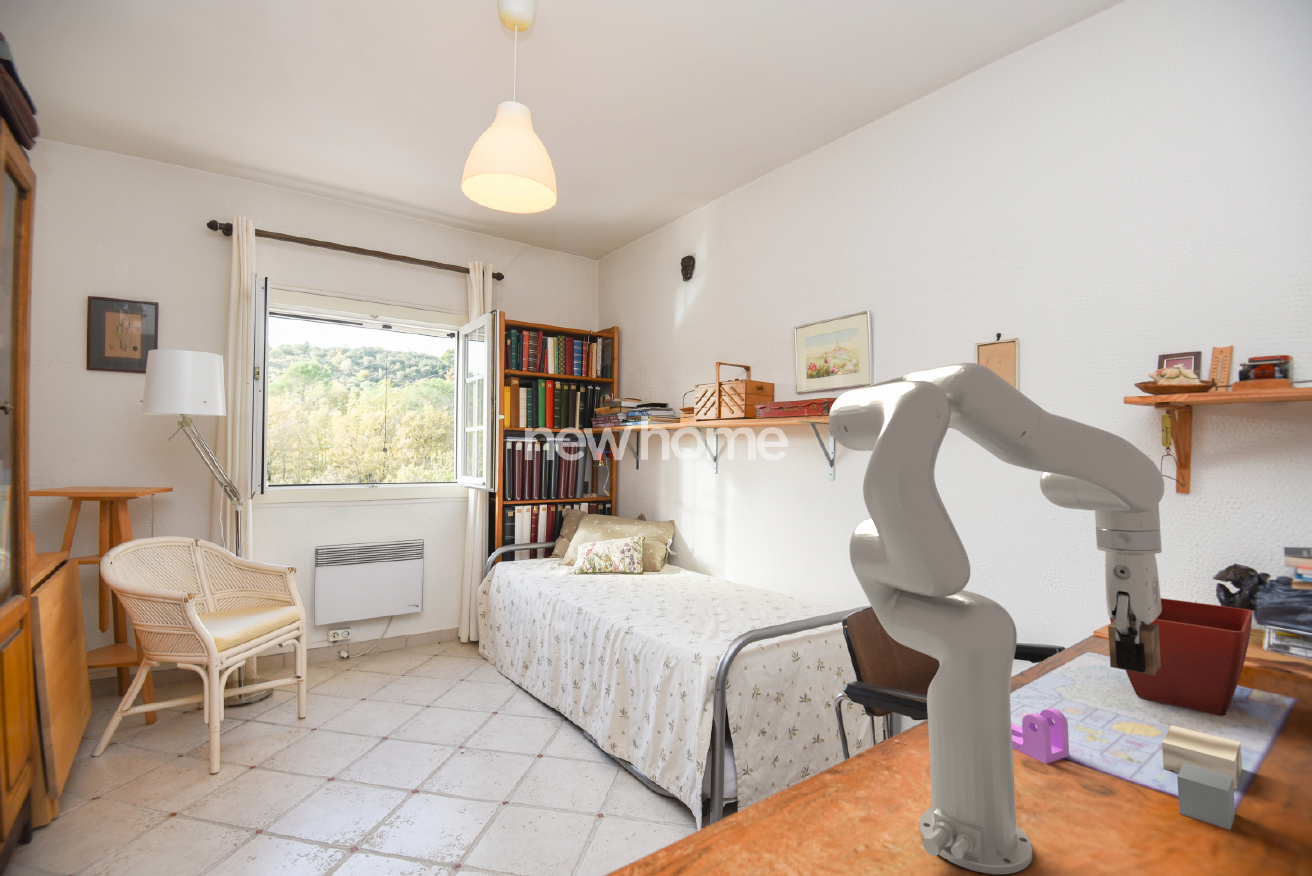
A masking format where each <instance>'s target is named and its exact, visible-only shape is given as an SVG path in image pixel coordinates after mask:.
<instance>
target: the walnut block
mask: <svg viewBox="0 0 1312 876" xmlns="http://www.w3.org/2000/svg"><path fill="white" fill-rule="evenodd" d="M1115 622H1116V619H1115V620H1114V621H1113V622H1112V623H1111V622H1110V624H1109V625H1107V631H1108V647H1109V648H1108V651H1109V666H1110V668H1114V669H1119V670H1125V671H1126V670H1128V669H1122V668H1119V667H1118V666H1117V660H1116V644H1115V640H1116V638H1115V631H1116V624H1115ZM1129 627H1132V628H1133V630H1134V631H1135V625H1130V626H1129ZM1141 643H1143V644H1144V653H1145V671H1144V672H1138V671H1133V670H1128V671H1133V672H1138V673H1143V674H1148V675H1153V676H1154V675H1155V674H1156V672H1157V671H1158V669H1159V668H1160V667H1161V661H1160V645H1159V629H1158V625H1155V624H1149V625H1146V624H1145V623H1142V622H1141Z"/></svg>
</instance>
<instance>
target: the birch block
mask: <svg viewBox="0 0 1312 876" xmlns="http://www.w3.org/2000/svg"><path fill="white" fill-rule="evenodd" d="M1170 725H1171V726H1170V727H1169V729H1168V731H1167V733H1166V734H1165V736H1164V738H1163V740H1162V741H1161V745H1162V746H1161V748H1162V763H1163V765H1162V766H1163V769H1164V770H1166V769H1167V770H1166V771H1170V770H1173V771H1175V772H1174V773H1177V774H1179V772H1180V770H1181V768H1182V765H1183V763H1186V764H1190V765H1193V766H1197V767H1201V768H1204V769H1208V770H1211V771H1215V772H1219V773H1222V774H1226V775H1229V776H1233V785H1234V790H1237V788H1238V785H1239V781H1240V778H1241V777H1240V776H1241V773H1242V771H1243V763H1242V762H1243V761H1242V745H1241V741H1238V740H1233V739H1229V738H1226V737H1221V736H1218V735H1217V736H1216V735H1213V734H1209V733H1205V732H1200V731H1197V730H1192V729H1189V728H1184V727H1180V726H1177V725H1172V724H1170ZM1173 771H1172V772H1173ZM1239 777H1240V778H1239ZM1238 780H1239V781H1238ZM1237 784H1238V785H1237Z"/></svg>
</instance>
